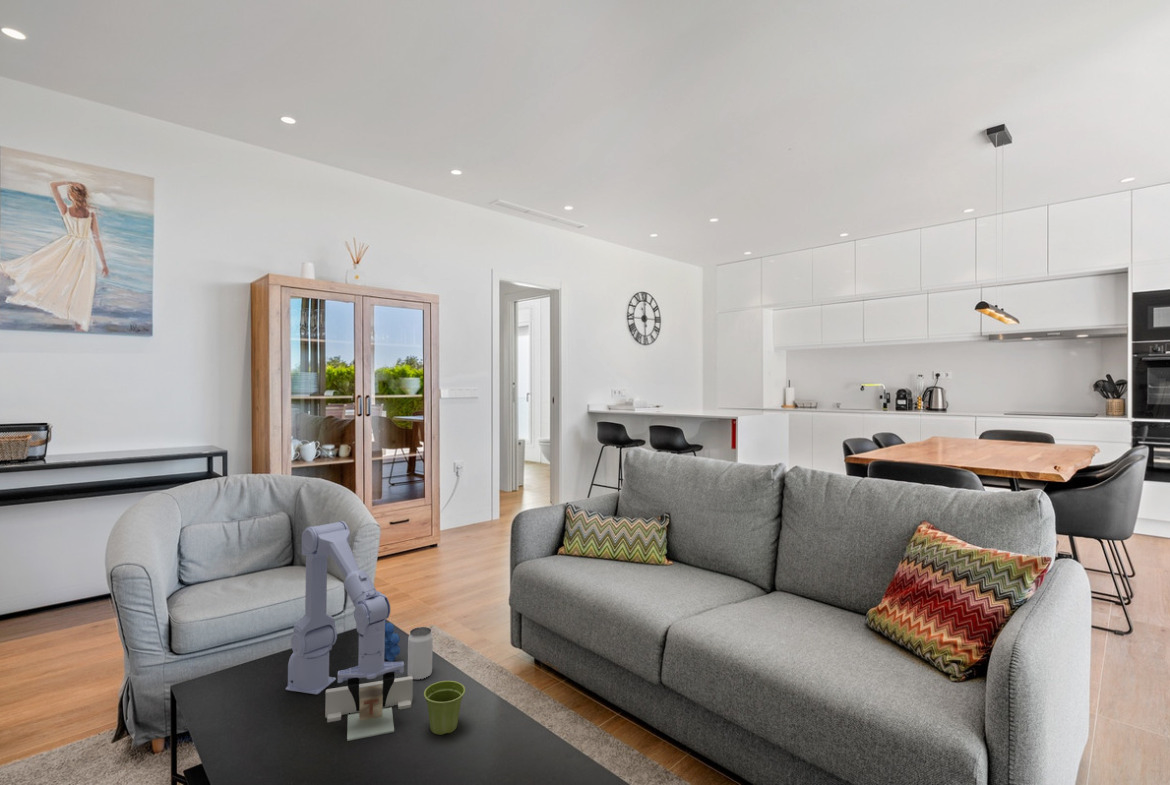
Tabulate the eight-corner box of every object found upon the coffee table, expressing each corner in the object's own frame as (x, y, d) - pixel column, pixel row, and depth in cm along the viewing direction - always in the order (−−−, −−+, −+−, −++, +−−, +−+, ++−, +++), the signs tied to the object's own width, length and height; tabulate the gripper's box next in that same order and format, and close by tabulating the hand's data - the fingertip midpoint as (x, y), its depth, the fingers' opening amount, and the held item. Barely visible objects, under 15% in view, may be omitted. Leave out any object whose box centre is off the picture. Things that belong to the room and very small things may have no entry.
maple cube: (359, 721, 134) (359, 699, 134) (359, 709, 139) (359, 688, 139) (382, 717, 136) (382, 695, 136) (381, 705, 140) (381, 684, 140)
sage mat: (347, 740, 131) (347, 739, 131) (347, 716, 140) (347, 714, 140) (394, 732, 134) (394, 730, 134) (391, 708, 144) (391, 707, 144)
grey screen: (324, 722, 137) (325, 697, 137) (326, 709, 143) (326, 684, 143) (413, 707, 144) (413, 683, 144) (411, 694, 150) (411, 671, 150)
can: (435, 669, 163) (436, 627, 163) (426, 681, 157) (427, 637, 157) (413, 667, 164) (413, 625, 164) (403, 679, 158) (404, 635, 157)
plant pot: (472, 720, 139) (472, 685, 139) (450, 743, 130) (451, 705, 130) (438, 712, 142) (438, 677, 142) (414, 734, 134) (415, 697, 133)
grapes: (357, 661, 167) (357, 620, 166) (375, 652, 173) (375, 611, 172) (387, 671, 162) (388, 628, 161) (405, 661, 168) (406, 619, 167)
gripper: (337, 661, 130) (336, 722, 131) (405, 652, 136) (404, 710, 136) (338, 648, 137) (337, 705, 137) (403, 639, 142) (402, 694, 142)
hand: (370, 706), depth 137 cm, fingers closed on maple cube, 5 cm apart
